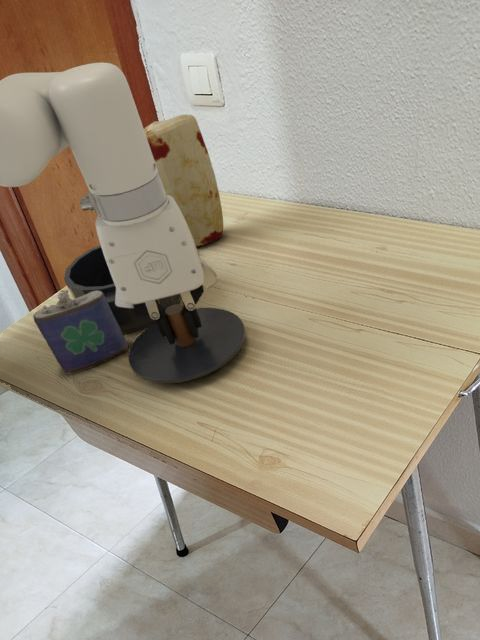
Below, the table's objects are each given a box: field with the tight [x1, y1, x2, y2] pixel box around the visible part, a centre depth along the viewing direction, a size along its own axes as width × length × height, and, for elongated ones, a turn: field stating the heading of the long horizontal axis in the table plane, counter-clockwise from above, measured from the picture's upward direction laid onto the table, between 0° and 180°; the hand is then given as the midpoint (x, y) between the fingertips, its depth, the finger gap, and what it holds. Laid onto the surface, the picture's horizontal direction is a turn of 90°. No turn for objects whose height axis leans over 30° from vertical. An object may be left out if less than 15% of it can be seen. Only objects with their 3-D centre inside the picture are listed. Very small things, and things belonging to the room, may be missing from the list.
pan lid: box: [128, 303, 246, 384], centre depth 76 cm, size 16×16×6 cm
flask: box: [32, 289, 129, 375], centre depth 77 cm, size 9×3×11 cm, turn 114°
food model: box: [144, 114, 225, 247], centre depth 95 cm, size 10×7×20 cm
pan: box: [63, 245, 182, 335], centre depth 87 cm, size 15×20×8 cm
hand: (183, 334), depth 76 cm, fingers closed on pan lid, 2 cm apart
